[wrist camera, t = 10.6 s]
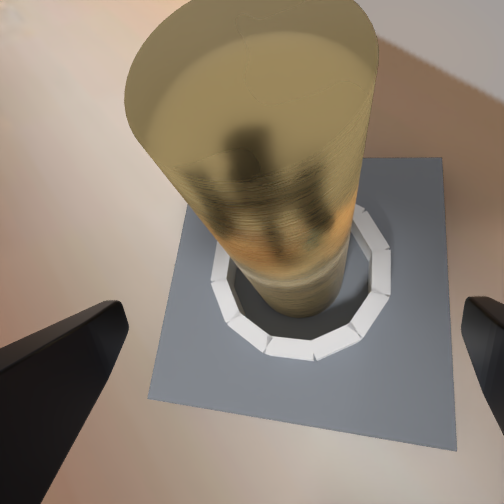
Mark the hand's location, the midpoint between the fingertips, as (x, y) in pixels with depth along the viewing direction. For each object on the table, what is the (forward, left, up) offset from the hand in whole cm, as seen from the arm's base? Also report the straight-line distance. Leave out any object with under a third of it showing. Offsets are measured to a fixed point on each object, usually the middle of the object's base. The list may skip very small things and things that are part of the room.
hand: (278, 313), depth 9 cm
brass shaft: (+3, 0, -8) cm, 9 cm away
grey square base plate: (+3, 0, -9) cm, 10 cm away
